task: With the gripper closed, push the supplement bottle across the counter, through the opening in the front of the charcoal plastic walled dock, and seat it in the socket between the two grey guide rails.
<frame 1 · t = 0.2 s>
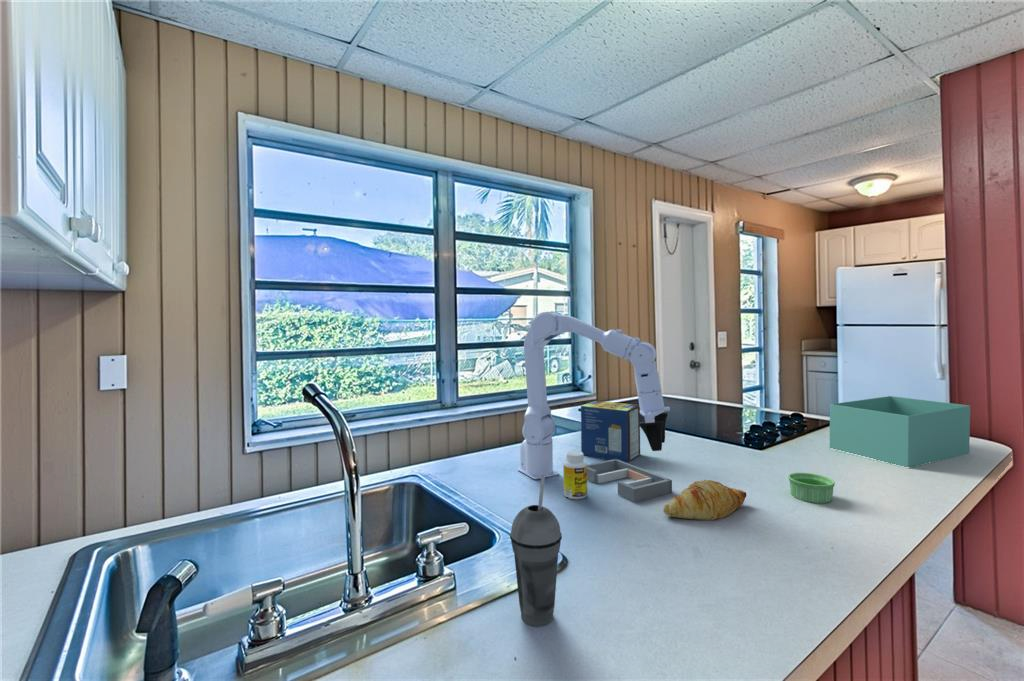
hand: (658, 446, 112), 11 cm above the counter, tool pointing down, fingers open, 7 cm apart
dock: (624, 484, 116), on the counter
supplement bottle: (575, 496, 109), on the counter
beverage cup: (537, 617, 65), on the counter
box: (897, 452, 141), on the counter
protein box: (610, 455, 142), on the counter
ramekin: (810, 498, 106), on the counter
croissant: (704, 512, 100), on the counter
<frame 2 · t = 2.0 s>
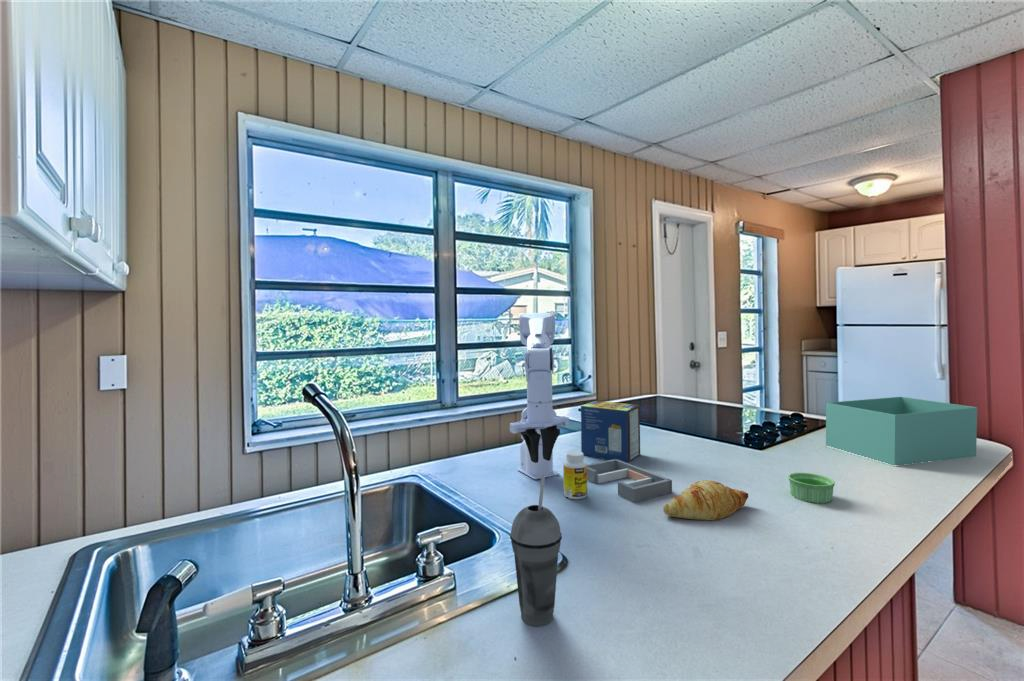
hand: (540, 460, 105), 10 cm above the counter, tool pointing down, fingers open, 3 cm apart
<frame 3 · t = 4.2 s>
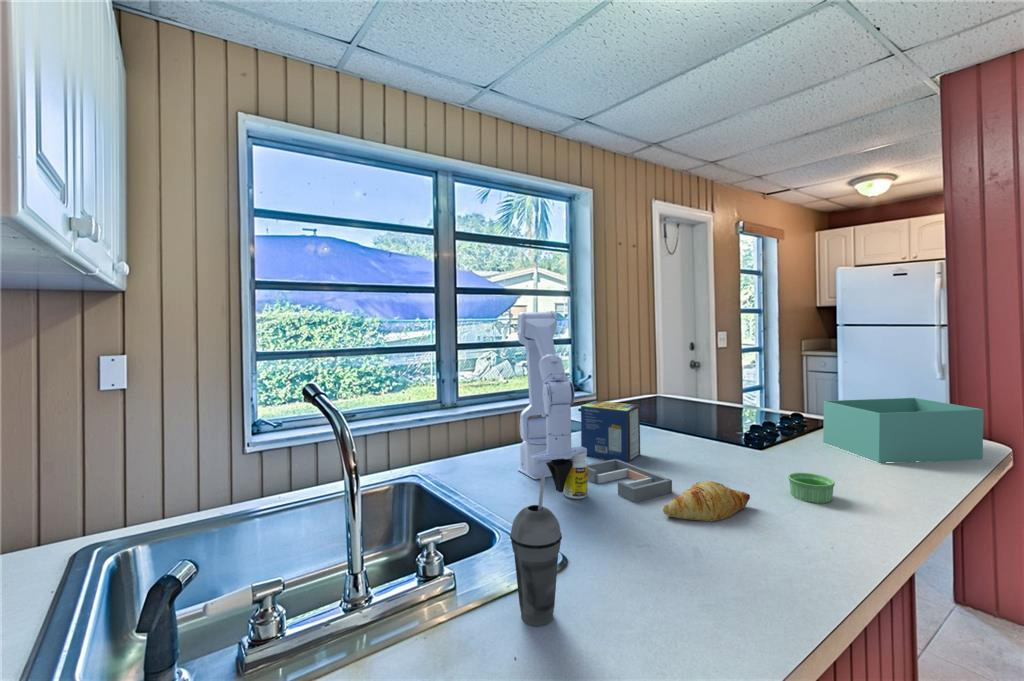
hand: (559, 491, 107), 2 cm above the counter, tool pointing down, fingers closed
supplement bottle: (575, 496, 109), on the counter, touching gripper
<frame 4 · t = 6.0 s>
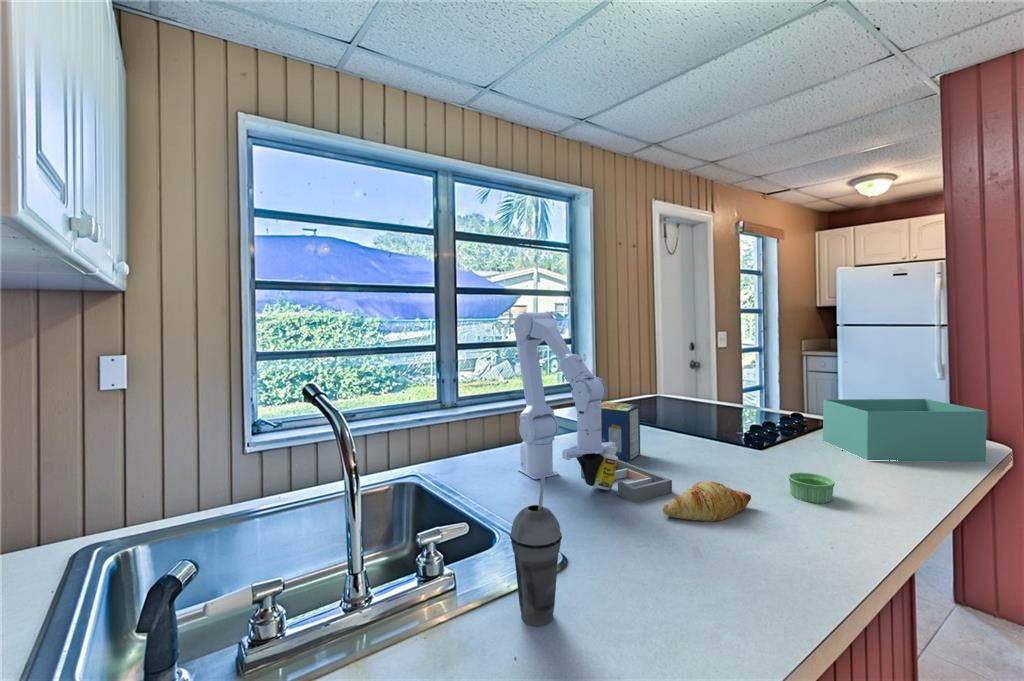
hand: (590, 484, 111), 2 cm above the counter, tool pointing down, fingers closed
supplement bottle: (599, 487, 113), point 1 cm above the counter, touching gripper
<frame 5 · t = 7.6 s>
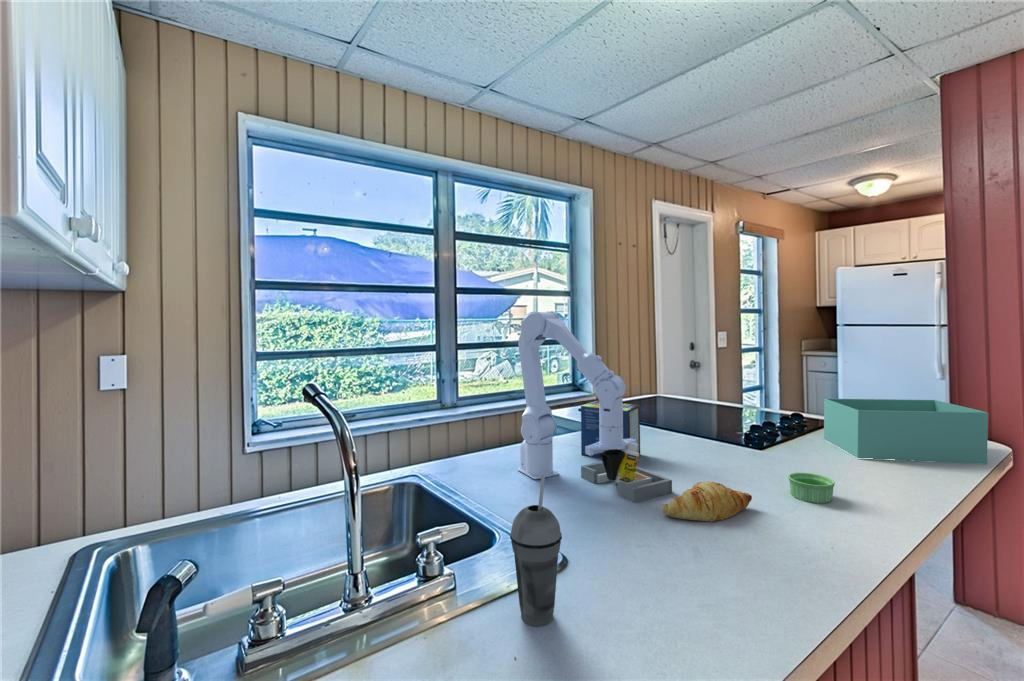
hand: (611, 479, 114), 2 cm above the counter, tool pointing down, fingers closed
supplement bottle: (621, 483, 116), point 1 cm above the counter, touching gripper
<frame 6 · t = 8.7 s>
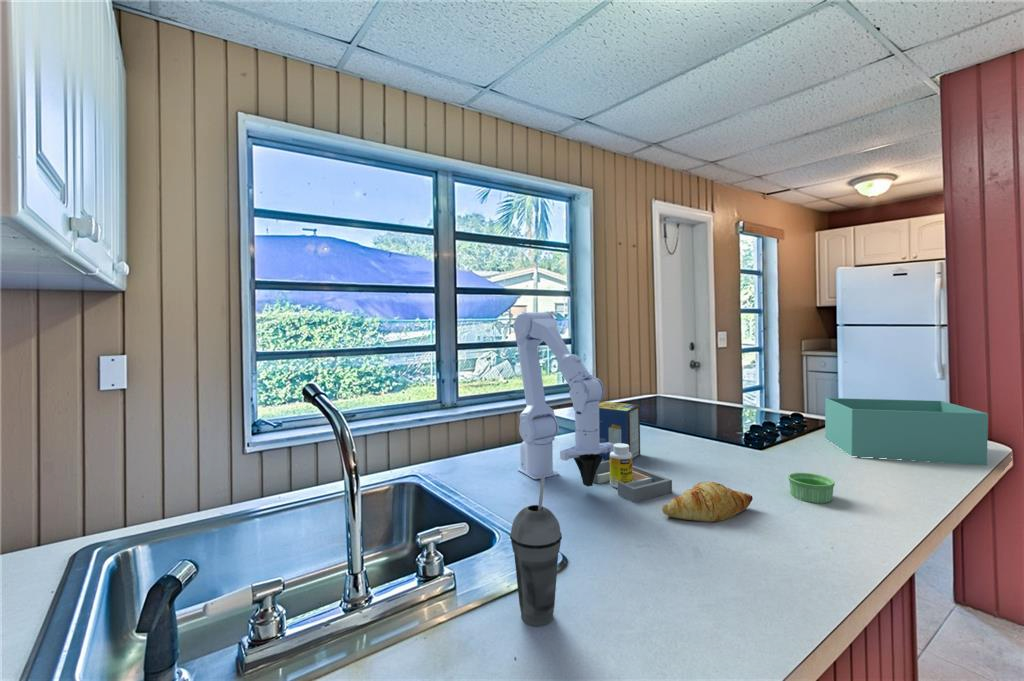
hand: (587, 484, 111), 2 cm above the counter, tool pointing down, fingers closed
supplement bottle: (621, 486, 116), on the counter
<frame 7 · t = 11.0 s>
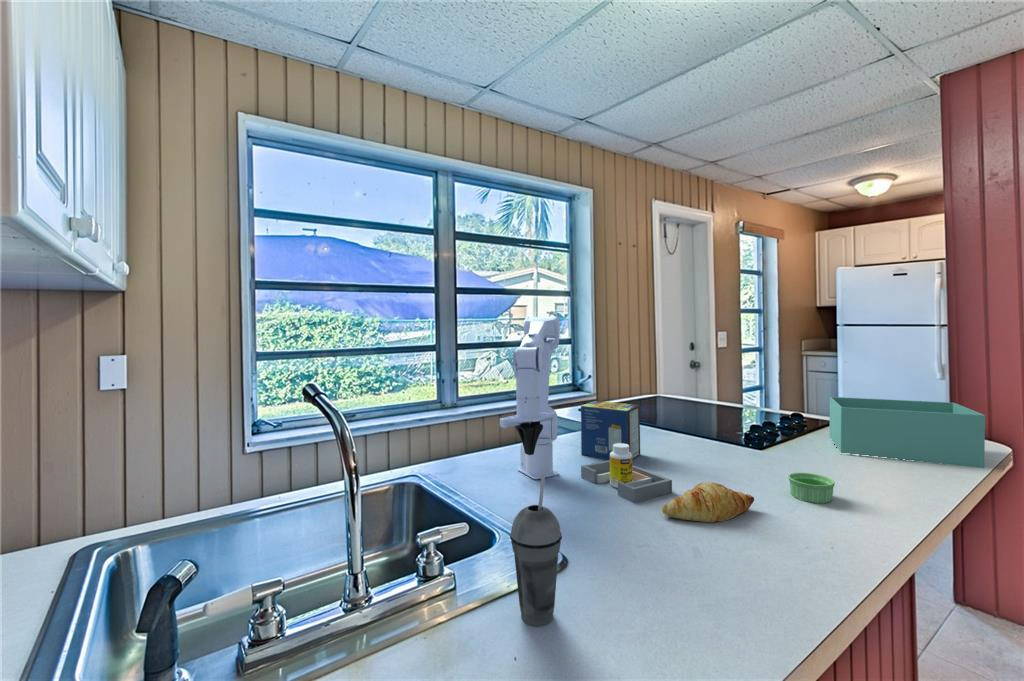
hand: (529, 453, 110), 10 cm above the counter, tool pointing down, fingers closed
at the end: supplement bottle 2.7 cm from the target spot on the dock, point 0.0 cm above the dock's base; supplement bottle tilted 0° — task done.
